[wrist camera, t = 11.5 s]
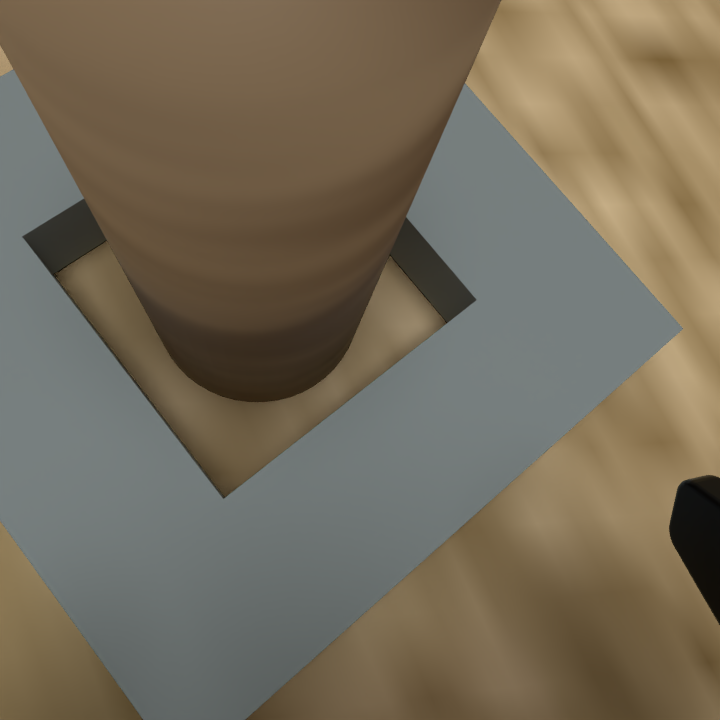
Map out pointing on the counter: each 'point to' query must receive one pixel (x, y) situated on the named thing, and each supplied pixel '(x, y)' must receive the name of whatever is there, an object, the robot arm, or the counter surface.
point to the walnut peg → (247, 158)
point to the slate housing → (315, 449)
